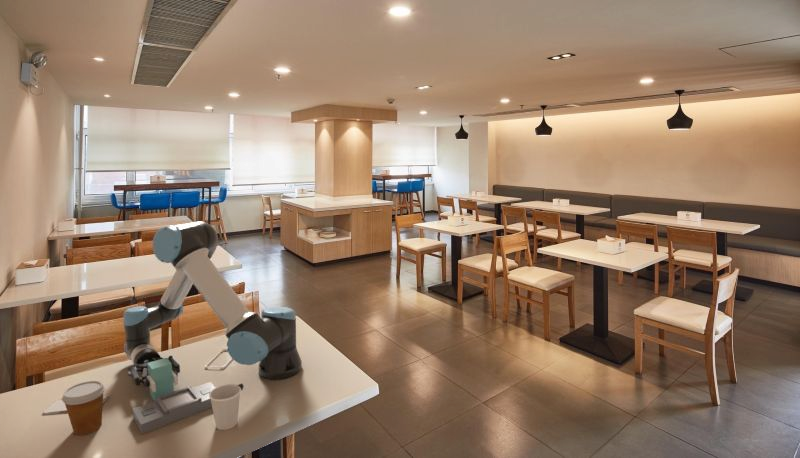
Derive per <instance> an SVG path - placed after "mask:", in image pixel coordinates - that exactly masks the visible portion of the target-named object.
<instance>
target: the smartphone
mask: <svg viewBox="0 0 800 458" xmlns="http://www.w3.org/2000/svg"><path fill="white" fill-rule="evenodd" d="M108 399H109V394H108V393H105V394H104V393H103V404H104V403H105V402H106V401H107V400H108ZM65 413H68V412H67V409H66V405H65V403H64V402H63V401H62V399H57V400H54V401H53V402H52V403H51V404H49V406H48V407H46V409H44V410H43V412H42V415H44V416H46V415H47V416H48V415H55V414H65Z"/></svg>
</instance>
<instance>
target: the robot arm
mask: <svg viewBox="0 0 800 458" xmlns="http://www.w3.org/2000/svg"><path fill="white" fill-rule="evenodd" d="M218 237H219V236H218V233H217V230H216V229H215V227H213V226H212V225H211V224H209V223H207V222H205V221H199V220H198V221H197V220H196V221H190V222H183V223H179V224H170V225H167V226H163V227H160V228H159V229H158V230H157V231H156V233H155V234H154V236H153V239H152V250H153V253H154V256H155V258H156V259H157V260H158V261H160V262H161V263H164V264H171V265H172V266H173V267H174V269H175V272H174V274H173V275H172V278H171V279H170V281H169V283H168V285H167V287H166V289H165V291H164V293H163V295H162V296H161V298H160V300H159V302H158V303H157V304H156V305H154V306H152V307H146V306H143V305H138V306H133V307H129V308H126V309H125V310H124V312H123V326H124V333H125V343H124V346H123V349H124V353H125V354H126V356H127V357H128V358H129V360H130V361H131V362H132V364H133V367H132V366H129V367H127V376H128V377H131V379H132V381H133V383H134V385H135V386H136V387H137V386H140V385H141V384H142V387H144V388H147V387H150V388H151V390H152V391H153V392H156V385H155V382H154V381H153V379H152V378H151V377H150V375H149V376H148V365H147V363H149V362H153V361H156V360H160V359H163V358H164V357H161V355H160V354H159V352H158V351H157V350H156V349H155V348H154V347H153V346H152V344H151V334H150V332H151V329H154V328H156V327H158V326H161V325H163V324H165V323H167V322H171V321H173V320H175V319H177V318H179V317H180V316H182V314H183V312H184V306H183V303H184V301H185V299H186V297H187V295H188V294H189V292H190V290H191V288H192V287H193V286H194V287H195V289H196V290H197V291H198V292H199V294H200V295H201V297H202V298H203V299H204V300H205V301H206V303H207V304H208V305H209V307H210V308H211V309H212V311H213V312H214V313H215V315H216V316H217V318H218V319H219V321H220V322H221V323H222V324H223V326H224V327H225V329H226V330H225V337H226V338H227V341H226V349H227V350H228V351H227V352H228V355H229V356H230V358H232V359H233V360H234V362H236V363H238V364H239V365H245V366H252V365H255V364H257V363H258V374H259V376H260V377H262V378H264V379H267V380H283V379H284V380H285V379H288V378H290V377H293V376H296V375H297V374H299V373H300V372H301V370H302V368H303V363H302V359H301V356H300V353H299V350H298V348H297V318H296V312H295V310H294V309H292V308H290V307H286V306H270V307H266V308H264V309H262V310H261V312H260V313H261V315H259V313H257V312H254V311H250V310H249V308H248V307H247V306H246V305H245V304H244V302H243V300H242V299H241V298H240V296H239V295H238V294H237V293H236V291H235V290H234V289H233V287H232V286H231V285H230V284H229V282H228V281H227V280H226V278H225V277H224V276H223V274H221V272H220V270H219V269H218V268H217V266H216V265H215V264H214V262H212V260H211V258H212V257H213V256H214V254H215V252H216V249H217V247H218V244H219V238H218ZM260 316H261V317H260ZM166 358H167V359H168V360H169V361H170V362H171V363H172V376H173V385H175V386H176V385H178V384H179V379H178V377H179V375H178V374H180V372H181V366H180V364H179V363H178V362H177V361H176V360H175V359H174V358H173V355H169V356H168V357H166ZM233 360H232V361H233ZM138 372H140V373H142V375H141V377H140V375H139V373H138ZM150 388H149V389H150Z"/></svg>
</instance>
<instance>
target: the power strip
mask: <svg viewBox="0 0 800 458" xmlns="http://www.w3.org/2000/svg"><path fill="white" fill-rule="evenodd" d="M236 385H237V386H239V387H240V388H241V389H242V388H243V387H244V383H239V384H236ZM215 388H217V387H216V386H215V385H214V384H213V383H212V382H211V381H208V382H206V383H203V384H201V385H198V386H194V387H193V386H186V387H183V388H180V389H176V390H174V392H171V393H168V394H165V395H162V396H159V398H156V401H154V400H153V401H151V402H148V403H146V404H142V405H140V406H137V407H133V408H131V409H132V418H133V420H134V422H135V424H136V426H137V428H138V429H139V431H140V433H141V435H145V434H147V433H149V432H152V431H154V430H157V429H159V428H162V427H164V426H167V425H169V424H172V423H175V422H177V421H180V420H183V419H186V418H188V417H190V416H193V415H196V414H198V413H200V412H203V411H206V410H208V409H211V408H212V404H211V399H210V397H209V394H210V392H211V391H212V390H213V389H215Z"/></svg>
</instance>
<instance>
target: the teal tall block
mask: <svg viewBox="0 0 800 458" xmlns="http://www.w3.org/2000/svg"><path fill="white" fill-rule="evenodd" d="M162 358H163V359H160V360H156V361H153V362H149V363H147V365H148V376H149V375H150V377H151V378H152V379H153V381H154V382H155V385H156V392H153V391H152V390H151V388H150V387H149V386H148V387H149V396H150V397H151V399H152V401H153V402H154V401H156V398H159V396H162V395H165V394H168V393H171V392H174V391H175V389H174V383H173V376H172V363H171V362H170V361H169V360H168V359H167V358H168V357H162Z"/></svg>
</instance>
